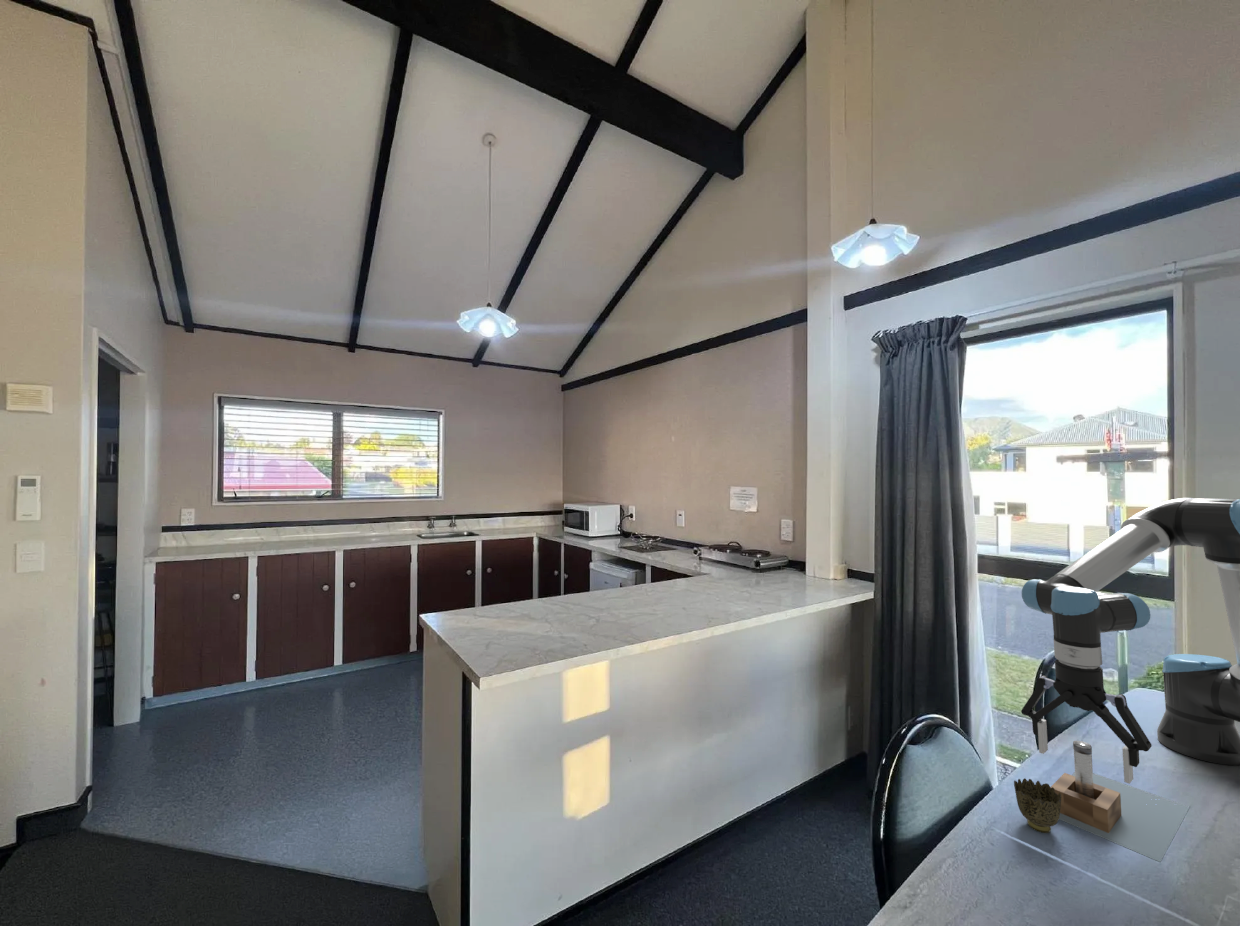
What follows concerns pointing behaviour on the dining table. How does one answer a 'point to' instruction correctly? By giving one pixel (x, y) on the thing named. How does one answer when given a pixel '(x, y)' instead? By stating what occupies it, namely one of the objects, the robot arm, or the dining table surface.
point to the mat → (1139, 820)
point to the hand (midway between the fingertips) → (1084, 765)
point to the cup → (1038, 804)
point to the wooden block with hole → (1089, 804)
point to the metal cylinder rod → (1083, 768)
